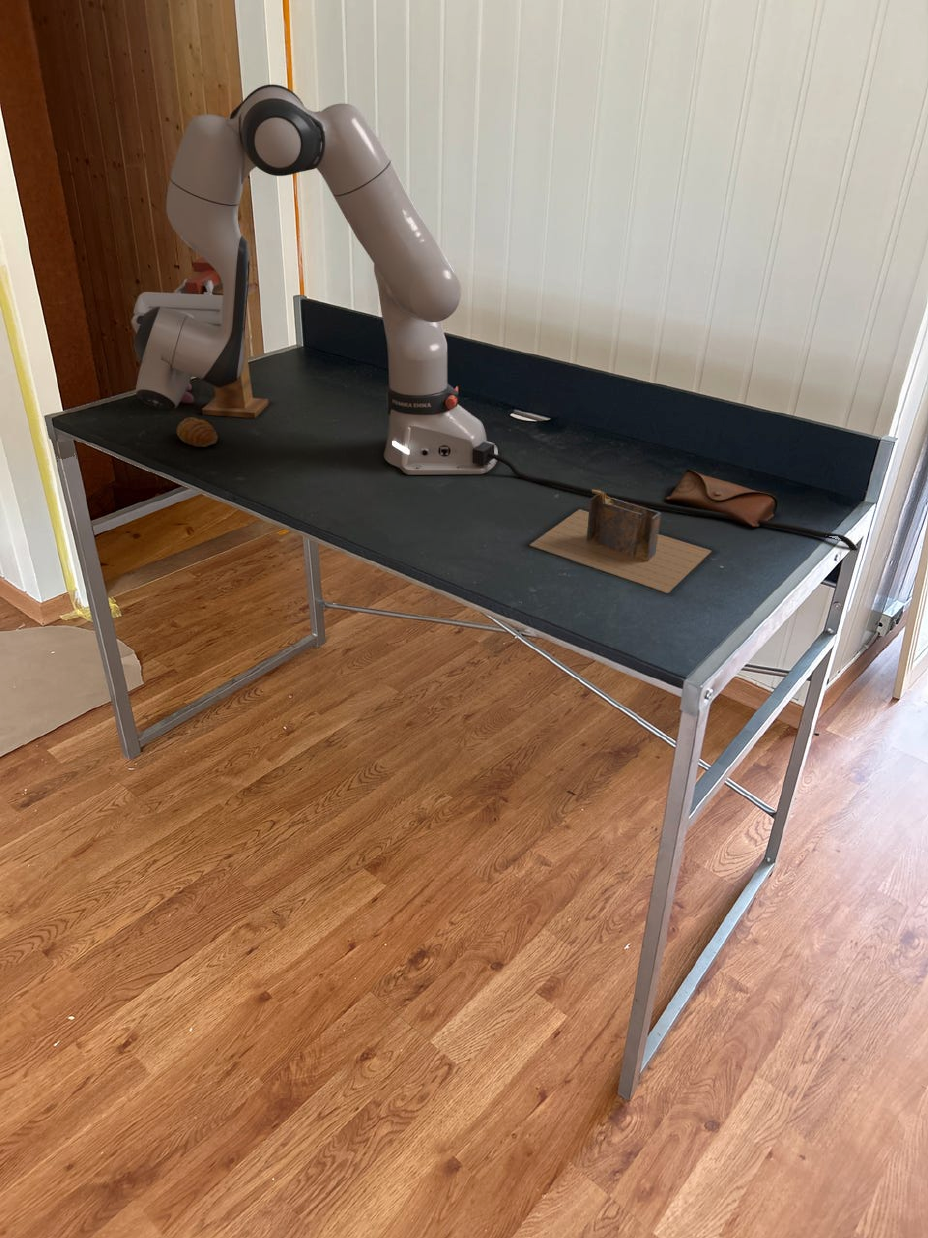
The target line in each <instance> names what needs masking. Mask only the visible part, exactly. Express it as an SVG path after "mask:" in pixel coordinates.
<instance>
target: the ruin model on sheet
mask: <svg viewBox="0 0 928 1238" xmlns="http://www.w3.org/2000/svg"><path fill="white" fill-rule="evenodd" d="M590 489H591V488H590ZM591 491H592V493H595V494H597V495H593V497H591V498H590V499H589V509H588V511H586V510H583V509H581V508H580V509H579V508H578V509H577V510H576V511H575V512H573V513H572V514H571V515H569V516H568V517H566V518H565V519H563V520H562V521H560V523H558V524H557V525H555V526H554V527H552V528H551V529H550V530H548V531H547V532H545V533H544V534H543V535H541V536H540V537H539V538H537V539H535V540H534V541H533V542H532V543H530V544H529V546H530V547H533V548H536V549H539V550H541V551H545V552H548V553H550V554H553V555H555V556H559V557H562V558H565V559H568V560H571V561H573V562H576V563H579V564H583V565H585V566H588V567H591V568H592V569H593V568H594V569H596V570H600V571H603V572H606V573H608V574H610V575H614V576H617V577H620V578H623V579H624V580H625V579H626V580H628V581H630V582H634V583H637V584H640V585H643V586H646V587H649V588H652V589H654V590H657V591H660V592H663V593H666V594H669V593H670V592H671V591H672V590H673V589H674V588H675V587H676V586H677V585H679V583H680V582H682V581H683V579H685V577H686V576H688V575H689V573H691V572H692V571H693V570H694V569H695V568H696V567H697V566H698V565H699V564H700V563H701V562H703V560H704V559H705V558H707V556H709V555H710V553H712V550H711V549H707V548H704V547H701V546H699V545H695V544H692V543H688V542H685V541H682V540H678V539H676V538H673V537H669V536H666V535H663V534H659V530H660V525H661V516H662V512H661V511H657V510H654V509H651V508H648V507H645V506H642V505H639V504H634V503H628V502H624V501H621V500H618V499H614V498H611V497H608V496H607V495H606V493H607V492H605V491H602V490H600V489H594V488H593V489H591Z"/></svg>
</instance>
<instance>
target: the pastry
mask: <svg viewBox="0 0 928 1238" xmlns="http://www.w3.org/2000/svg"><path fill="white" fill-rule="evenodd" d="M175 432H176V435H177V437H178V439H179V440H180V441H181V442H183V443H185V444H188V445H190V446H192V447H196V448H200V447H201V448H202V447H203V448H206V447H208V446H210V445H213V444H216V443H217V441H218V439H219V436H218V435H217V431H216V430H215V428H214V427H213V426H212V425H211V424H210V423H209V422H208V421H206V420H205V419H198V418H197V417H191V416H190V417H186V418H184V419H183V420H182V421H180V422H179V424H178V426H177V427H176V431H175Z"/></svg>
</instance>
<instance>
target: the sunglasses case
mask: <svg viewBox="0 0 928 1238" xmlns="http://www.w3.org/2000/svg"><path fill="white" fill-rule="evenodd" d="M665 500H666V501H669V502H673V503H678V504H680V505H684V506H686V507H689V508H694V509H701V510H707V511H714V512H720V513H725V514H728V515H730V516H731V517H732V518H733V520H730V519H726V520H727V521H731V522H734V523H738V524H742V525H746V526H749V527H752V528H758V527H760V526H761V525H760V524H758V520H759V519H761V520H767V521H771V519H772V518H774V517H775V514H776V512H777V510H778V509H777V508H778V499H777V497H776V496H774V495H773V494H771V493H768V492H764V491H757V490H755V489H751V488H749V487H745V486H742V485H739V484H736V483H732V482H730V481H726V480H723V479H719V478H715V477H712V476H708V475H705V474H702V473H700V472H697V471H695V470H692V469H687V470H686V471H685V474H684V475H683V476H682V478H681V479H680V480H679V482H678V484H677V485H676V486H675V488H674V489H673V491H672V492H671V494H670V495H669V496H667V497H665Z"/></svg>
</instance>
